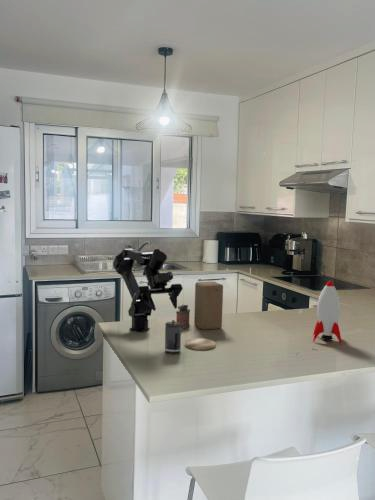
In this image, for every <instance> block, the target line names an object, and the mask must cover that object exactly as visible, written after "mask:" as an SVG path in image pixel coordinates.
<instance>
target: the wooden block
mask: <svg viewBox="0 0 375 500" xmlns="http://www.w3.org/2000/svg"><path fill="white" fill-rule="evenodd" d="M194 287H195V288H194V317H193V319H194V323H193V324H194V326H196V327H198V328H200V330H204V331H206V330H207V331H208V330H217V329H221V328H222V327H223V307H224V306H223V302H224V301H223V300H224V298H223V297H224V285H223V284H222V283H221V284H220V283H218V282H216V281H198V282H197V281H196V282H195V285H194Z"/></svg>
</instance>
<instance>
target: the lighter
mask: <svg viewBox="0 0 375 500" xmlns="http://www.w3.org/2000/svg"><path fill="white" fill-rule="evenodd" d="M190 312H191V309H190V308H189V304H181V305H177V310H176V311H175V313H176V320H175V322H179V323H181V329H185V328H187V327H189V326H190Z"/></svg>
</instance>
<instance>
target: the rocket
mask: <svg viewBox="0 0 375 500" xmlns="http://www.w3.org/2000/svg"><path fill="white" fill-rule="evenodd" d="M316 309H317V310H316V311H317V312H316V313H317V319H318V320H317V321H316V324H315V327H314V329H313V333H312V334H313V335H312V336H313V339H312V340H313V341H312V343H314V342H315V341H316V340H317V337H319V335H320V334H321V339H323V340H329V341H330V340H333V339H334V338H333V336H334V335H335V337H336V338H337V340H338V342H339V343H340V345H341V346H342V345H343V344H342V337H341V331H340V327H339V323H338V322H339V318H340V313H341V301H340V298H339V294H338V291H337V289H336V286H335V284H334V283H333V282H332V280H329V281H327V283H326V284H325V286H324V287H323V289H321V292H320V293H319V297H318V301H317V305H316Z"/></svg>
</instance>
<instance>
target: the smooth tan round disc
mask: <svg viewBox="0 0 375 500" xmlns="http://www.w3.org/2000/svg"><path fill="white" fill-rule="evenodd" d="M184 346H185V347H186V348H187V349H189V350H194V351H195V350H196V351H210V350H212V349H215V348H216V347H217V345H216V342H215V340H212V339H209V338H201V337H200V338H198V337H197V338H190V339H187V340H185V341H184Z"/></svg>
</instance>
